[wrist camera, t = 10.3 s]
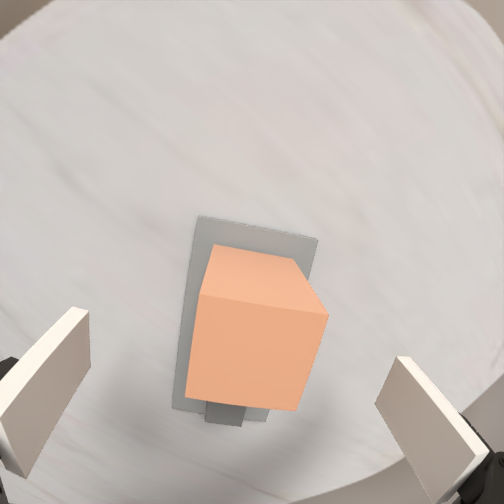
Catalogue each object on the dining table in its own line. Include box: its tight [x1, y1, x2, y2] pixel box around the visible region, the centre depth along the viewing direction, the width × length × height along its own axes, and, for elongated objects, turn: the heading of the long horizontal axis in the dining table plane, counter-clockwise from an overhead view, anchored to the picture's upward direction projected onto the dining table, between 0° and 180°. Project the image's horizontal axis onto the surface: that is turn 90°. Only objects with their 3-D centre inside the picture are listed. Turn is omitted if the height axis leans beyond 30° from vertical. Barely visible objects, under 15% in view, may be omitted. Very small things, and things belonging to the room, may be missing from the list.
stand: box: [172, 216, 318, 427], centre depth 19 cm, size 8×16×9 cm, turn 169°
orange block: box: [185, 244, 329, 411], centre depth 17 cm, size 5×5×9 cm
